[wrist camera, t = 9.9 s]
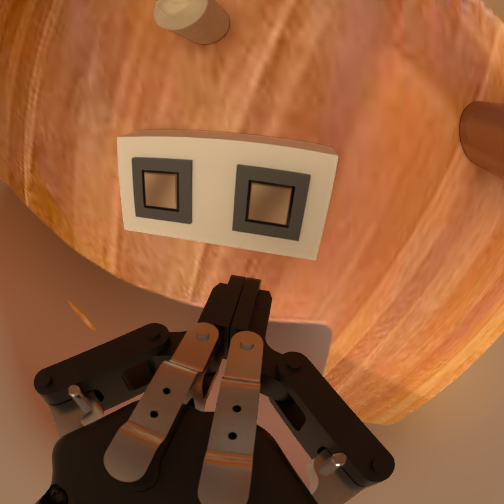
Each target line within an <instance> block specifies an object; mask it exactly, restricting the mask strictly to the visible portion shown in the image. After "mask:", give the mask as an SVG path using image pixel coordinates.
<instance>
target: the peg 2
mask: <svg viewBox="0 0 504 504" xmlns="http://www.w3.org/2000/svg"><path fill="white" fill-rule="evenodd" d="M291 192H292V186H289V185H282V184H276V183H269V182H262V181H255V180H253V181H252V184H251V195H250V205H249V216H248V219H251V220H258V221H264V222H271V223H277V224H283V225H286V223H287V217H288V211H289V204H290V198H291Z"/></svg>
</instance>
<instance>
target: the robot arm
mask: <svg viewBox="0 0 504 504" xmlns="http://www.w3.org/2000/svg"><path fill="white" fill-rule="evenodd" d="M460 139H461V143H462V146H463V149H464V151H465V153H466V155H467V156H468V158H469V159H470V160H471V161H472V162H473V163H475V164H476V165H478V166H480V167H482V168H484V169H486V170H488V171H489V172H491V173H493V174H495V175H496V176H498V177H500V178H502V179H503V180H504V105H502V104H497V103H490V102H483V101H476V102H473V103H471V104H470V105H468V106H467V108H466V109H465V110H464V112H463V114H462V117H461V121H460ZM260 284H261V280H259V279H253V278H248V277H247V278H246V277H241V276H236V275H231V277H230V280H229V282H228V284H224V283H219V284H218V285H217V286H215V287H214V288H213V290H212V292H211V294H210V297H209V298H208V301H207V303H206V305H205V307H204V309H203V312H202V314H201V316H200V318H199V321H198V323H196V324H194V325H192V326H191V327H190V328H189V329H188V331H184V332H169V331H168V329H167V328H166V327H165V326H164V325H162V324H158V323H151V324H148V325H145V326H143V327H141V328H139V329H136V330H134V331H132V332H129V333H127V334H125V335H123V336H120V337H118V338H116V339H113V340H111V341H109V342H106V343H104V344H102V345H99V346H97V347H95V348H93V349H90V350H88V351H85V352H83V353H81V354H79V355H76V356H74V357H71V358H69V359H67V360H64V361H62V362H59V363H57V364H54V365H52V366H49V367H47V368H45V369H42V370H41V371H39V372H38V373H37V375H36V376H35V379H34V387H35V389H36V390H37V392H38V393H39V394H40V395H41V396H42V397H43V399H44V400H45V402H46V403H47V404H48V405H49V408H50V411H51V414H52V417H53V420H54V422H55V425H56V428H57V431H58V433H59V436H60V439H59V440H58V441H57V443H56V444H55V446H54V449H53V453H52V465H53V474H52V483H51V486H50V488H49V489H48V491H47V492H46V493H45V495H43V496H42V497H41V498H40V499H39V500H38V501H37V502H36V503H35V504H344V503H345V502H347V501H348V500H350V499H351V498H352V497H354V496H355V495H356V494H357V493H359V492H360V491H361V490H363V489H365V488H368V487H370V486H372V485H375V484H377V483H379V482H382V481H384V480H386V479H387V478H388V477H390V475H391V474H392V473H393V470H394V467H395V463H394V458H393V456H392V455H391V454H390V453H389V452H388V450H387V449H386V448H385V447H384V446H383V445H382V444H381V443H380V442H379V441H378V439H377V438H376V437H375V436H374V435H373V434H372V433H371V431H370V430H369V429H368V428H367V427H366V426H365V425H364V424H363V422H362V421H361V420H360V419H359V418H358V417H357V416H356V414H355V413H354V412H353V411H352V410H351V409H350V408H349V406H348V405H347V404H346V403H345V402H344V401H343V399H342V398H341V397H340V396H339V395H338V394H337V392H336V391H335V390H334V389H333V388H332V387H331V385H330V384H329V383H328V382H327V381H326V380H325V378H324V377H323V376H322V375H321V374H320V372H319V371H318V370H317V369H316V368H315V367H314V365H313V364H312V363H311V362H310V361H309V360H308V358H307V357H306V356H304V355H303V354H301V353H298V352H287V353H284V354H280V353H278V352H276V351H274V350H273V349H271V348H270V347H269V346H268V344H267V343H266V340H265V336H266V330H267V325H268V320H269V314H270V308H271V302H272V297H271V295H270V292H269V291H265V290H260ZM222 359H227V362H226V367H225V372H224V376H223V377H222V380H221V384H220V388H219V393H218V398H217V403H216V408H215V412H204V409H205V404H206V401H207V398H208V396H209V394H210V391H211V389H212V387H213V384H214V382H215V380H216V377H217V375H218V372H219V367H220V364H221V361H222ZM143 392H144V394H143V396H142V397H141V399H140V400H138V401H135V402H132V403H130V404H128V405H126V406H124V407H122V408H121V409H119V410H117V411H115V412H113V413H111V414H109V415H107V416H105V417H103V415H104V411H105V410H107V409H109V408H112V407H114V406H116V405H118V404H120V403H122V402H125V401H127V400H129V399H131V398H133V397H135V396H137V395H139V394H141V393H143ZM260 393H262V394H264V395H266V396H268V397H269V400H270V402H271V403H272V405H273V406H274V408H275V409H276V411H277V412H278V413H279V415H280V416H281V418H282V419H283V421H284V422H285V423H286V425H287V426H288V428H289V429H290V430H291V432H292V433H293V435H294V436H295V437H296V439H297V440H298V441H299V443H300V444H301V445H302V447H303V448H304V449H305V451H306V452H307V453H308V455H309V456H310V457H311V459H312V460H311V461H310V462H309V464H308V466H307V470H306V472H307V476H308V478H309V480H310V483H311V488H310V491H309V490H308V489H307V487H306V486H305V484H304V483H303V482H302V480H301V479H300V477H299V476H298V474H297V473H296V471H295V470H294V468H293V467H292V466H291V464H290V462H289V461H288V459H287V458H286V456H285V455H284V453H283V452H282V450H281V448H280V447H279V445H278V444H277V442H276V441H275V439H274V438H273V437H272V436H271V435H270V434H269V433H268V432H267V431H266V430H265V429H263V428H262V427H260V426H258V425H257V415H258V404H259V395H260Z"/></svg>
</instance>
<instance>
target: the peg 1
mask: <svg viewBox="0 0 504 504" xmlns="http://www.w3.org/2000/svg"><path fill="white" fill-rule="evenodd" d="M144 175H145V194H146V205H147V206H156V207H164V208H172V209H178V208H179V172H168V171H153V170H148V171H146V172H144Z"/></svg>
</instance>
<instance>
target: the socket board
mask: <svg viewBox="0 0 504 504" xmlns="http://www.w3.org/2000/svg"><path fill="white" fill-rule="evenodd" d="M117 150H118V169H119V183H120V194H121V204H122V213H123V221H124V229H125V230H130V231H136V232H143V233H149V234H155V235H161V236H167V237H173V238H180V239H186V240H192V241H198V242H204V243H210V244H216V245H223V246H229V247H235V248H241V249H247V250H253V251H259V252H265V253H272V254H278V255H284V256H290V257H296V258H302V259H308V260H314V261H316V258H317V254H318V250H319V246H320V242H321V238H322V233H323V229H324V225H325V220H326V216H327V211H328V207H329V202H330V197H331V193H332V188H333V183H334V178H335V173H336V167H337V162H338V157H339V156H338V154H337V153H336V152H335V150H334V149H333V148H332V147H331V146H326V145H320V144H315V143H309V142H303V141H297V140H290V139H284V138H276V137H269V136H260V135H251V134H241V133H230V132H217V131H199V130H140V131H136V132H133V133H129V134H126V135H122V136H119V137H117ZM148 170H153V171H168V172H179V208H178V209H172V208H164V207H156V206H147V205H146V194H145V175H144V172H146V171H148ZM253 180H255V181H262V182H269V183H276V184H282V185H289V186H295V191H294V197H293V204H292V208H289V211H288V217H287V223H286V225H283V224H277V223H271V222H264V221H258V220H251V219H248V216H249V205H250V195H251V184H252V181H253Z"/></svg>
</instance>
